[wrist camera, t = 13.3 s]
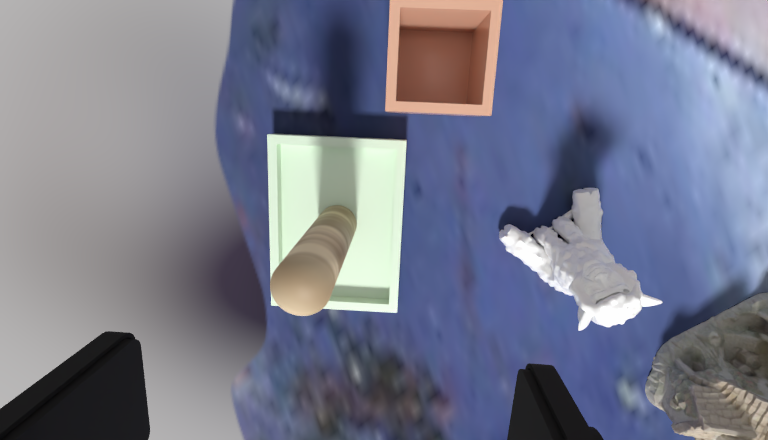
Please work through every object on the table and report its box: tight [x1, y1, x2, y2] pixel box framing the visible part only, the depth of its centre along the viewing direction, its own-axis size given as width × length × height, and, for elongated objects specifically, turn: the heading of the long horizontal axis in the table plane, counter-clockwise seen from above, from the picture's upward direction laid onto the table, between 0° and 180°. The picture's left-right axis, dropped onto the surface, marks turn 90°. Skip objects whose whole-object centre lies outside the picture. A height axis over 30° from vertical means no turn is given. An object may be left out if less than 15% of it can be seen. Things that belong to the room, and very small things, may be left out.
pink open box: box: [385, 0, 503, 116], centre depth 32 cm, size 7×7×8 cm
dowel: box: [270, 205, 357, 316], centre depth 32 cm, size 4×4×15 cm
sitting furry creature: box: [499, 188, 663, 331], centre depth 34 cm, size 10×9×12 cm
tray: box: [267, 134, 407, 313], centre depth 39 cm, size 16×12×2 cm
